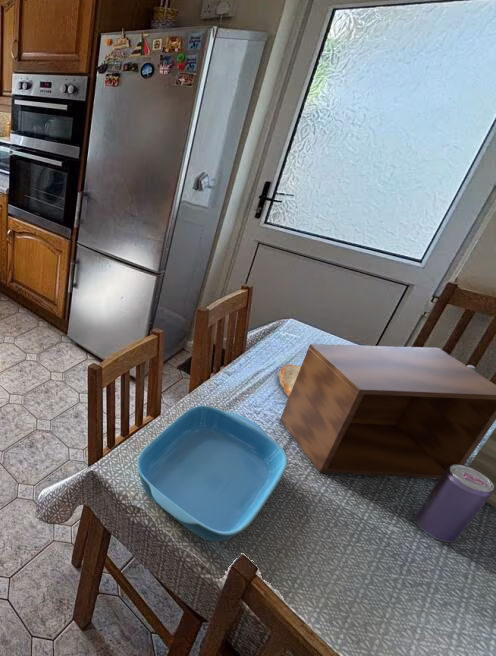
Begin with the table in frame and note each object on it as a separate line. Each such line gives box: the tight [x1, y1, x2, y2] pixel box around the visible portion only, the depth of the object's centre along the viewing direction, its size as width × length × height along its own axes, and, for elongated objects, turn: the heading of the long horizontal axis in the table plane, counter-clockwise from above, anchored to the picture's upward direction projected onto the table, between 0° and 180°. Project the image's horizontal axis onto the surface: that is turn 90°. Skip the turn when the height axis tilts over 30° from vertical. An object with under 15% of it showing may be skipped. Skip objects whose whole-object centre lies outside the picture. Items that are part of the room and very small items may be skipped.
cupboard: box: [279, 343, 496, 480], centre depth 95 cm, size 16×28×24 cm, turn 85°
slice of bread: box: [278, 363, 302, 398], centre depth 117 cm, size 18×18×4 cm
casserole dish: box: [136, 405, 289, 542], centre depth 91 cm, size 37×22×7 cm, turn 128°
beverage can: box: [415, 465, 494, 543], centre depth 79 cm, size 6×6×15 cm
